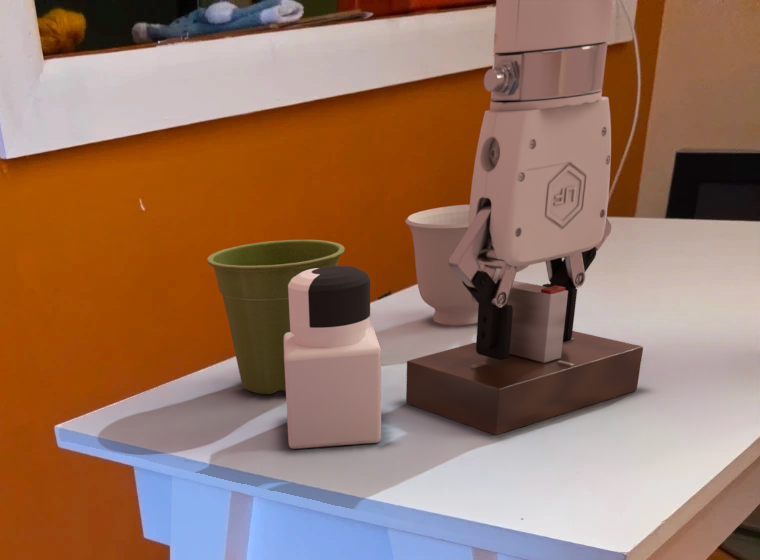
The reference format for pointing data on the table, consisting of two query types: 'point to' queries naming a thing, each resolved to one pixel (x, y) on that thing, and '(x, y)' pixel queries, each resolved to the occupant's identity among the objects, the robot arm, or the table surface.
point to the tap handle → (537, 321)
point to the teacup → (443, 263)
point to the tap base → (521, 382)
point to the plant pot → (264, 301)
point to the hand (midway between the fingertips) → (523, 345)
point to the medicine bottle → (331, 360)
